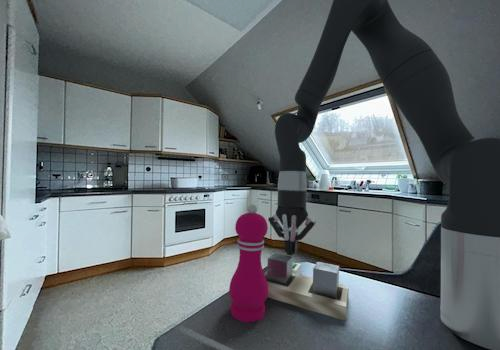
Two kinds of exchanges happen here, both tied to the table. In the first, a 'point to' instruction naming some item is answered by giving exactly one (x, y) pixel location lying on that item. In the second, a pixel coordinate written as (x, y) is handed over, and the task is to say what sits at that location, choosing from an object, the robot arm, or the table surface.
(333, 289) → the block
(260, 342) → the table surface
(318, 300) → the wooden tray
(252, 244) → the pepper mill
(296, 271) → the button housing
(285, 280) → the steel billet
